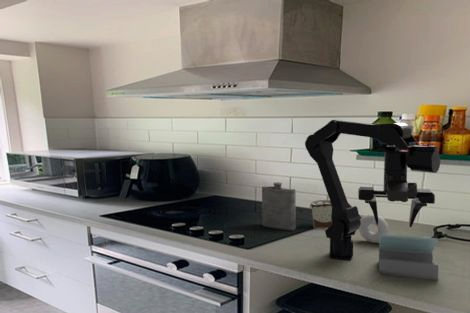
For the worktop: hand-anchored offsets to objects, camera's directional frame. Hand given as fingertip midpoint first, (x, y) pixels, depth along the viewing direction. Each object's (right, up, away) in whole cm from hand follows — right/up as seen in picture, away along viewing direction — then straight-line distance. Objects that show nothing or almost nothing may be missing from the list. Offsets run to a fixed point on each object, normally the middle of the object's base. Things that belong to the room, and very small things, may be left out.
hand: (393, 225), depth 101 cm
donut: (+4, -11, +25) cm, 28 cm away
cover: (+4, -6, +1) cm, 7 cm away
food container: (-8, -9, +46) cm, 48 cm away
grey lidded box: (+4, -13, +1) cm, 14 cm away
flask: (-27, -9, +45) cm, 53 cm away
